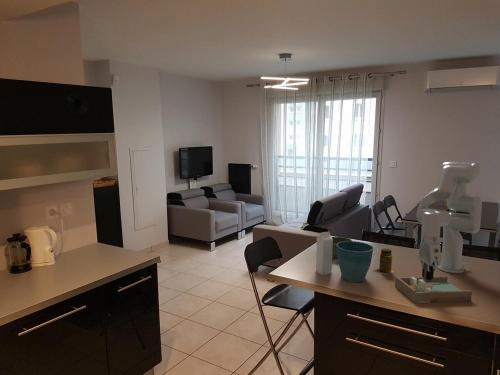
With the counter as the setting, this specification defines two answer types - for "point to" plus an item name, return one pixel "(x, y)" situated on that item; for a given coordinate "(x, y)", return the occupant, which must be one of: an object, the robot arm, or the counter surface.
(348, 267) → the flower pot
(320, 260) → the milk
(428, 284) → the striker
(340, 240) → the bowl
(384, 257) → the condiment
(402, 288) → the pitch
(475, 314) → the counter surface
